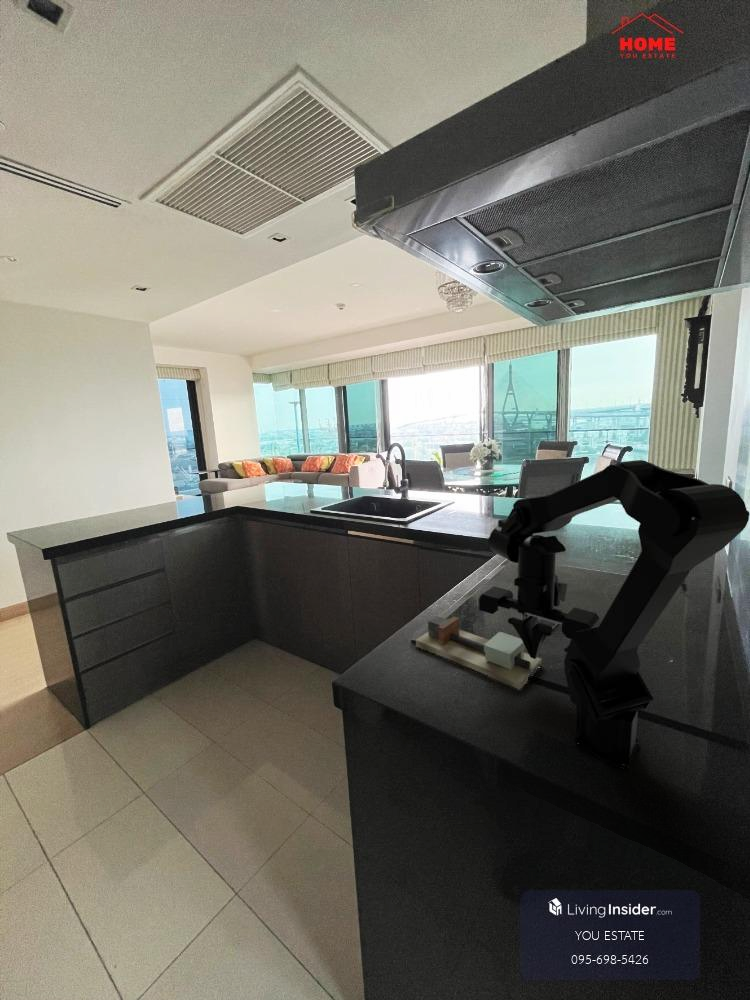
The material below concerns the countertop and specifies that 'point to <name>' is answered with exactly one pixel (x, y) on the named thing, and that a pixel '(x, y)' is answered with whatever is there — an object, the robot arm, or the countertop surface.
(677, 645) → the countertop surface
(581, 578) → the countertop surface
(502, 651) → the pale green slider block
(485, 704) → the countertop surface
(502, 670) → the board
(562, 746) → the countertop surface
